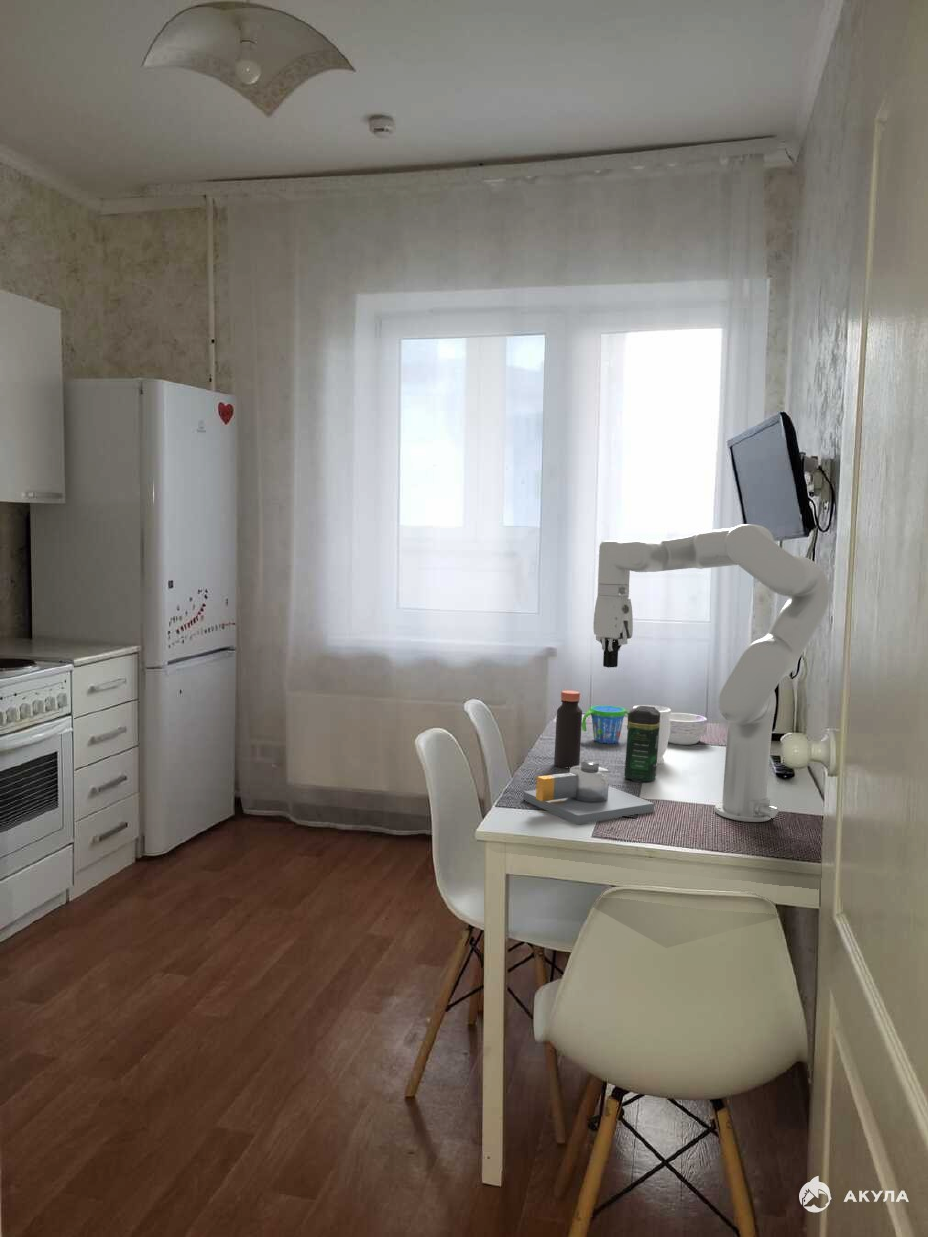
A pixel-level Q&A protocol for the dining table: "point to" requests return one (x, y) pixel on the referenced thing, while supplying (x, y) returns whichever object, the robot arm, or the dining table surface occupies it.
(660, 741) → the white cup
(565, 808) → the mounting board
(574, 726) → the bottle
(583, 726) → the snack cup
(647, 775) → the coffee jar
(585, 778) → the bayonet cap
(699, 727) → the white round hollow piece
